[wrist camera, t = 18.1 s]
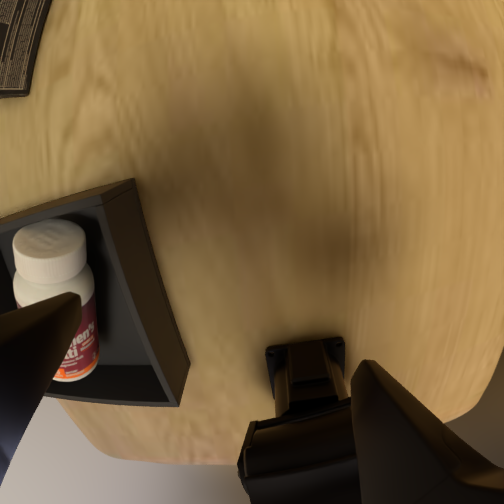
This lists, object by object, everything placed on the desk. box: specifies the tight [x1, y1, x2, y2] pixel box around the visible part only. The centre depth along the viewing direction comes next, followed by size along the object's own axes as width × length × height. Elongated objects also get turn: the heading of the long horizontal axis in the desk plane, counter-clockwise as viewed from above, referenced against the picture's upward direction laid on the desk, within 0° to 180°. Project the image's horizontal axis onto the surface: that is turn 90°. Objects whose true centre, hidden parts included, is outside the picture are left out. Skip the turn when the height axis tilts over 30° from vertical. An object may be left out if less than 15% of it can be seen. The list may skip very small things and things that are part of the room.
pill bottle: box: [13, 219, 100, 382], centre depth 19 cm, size 6×6×11 cm
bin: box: [0, 178, 190, 407], centre depth 21 cm, size 16×16×5 cm
